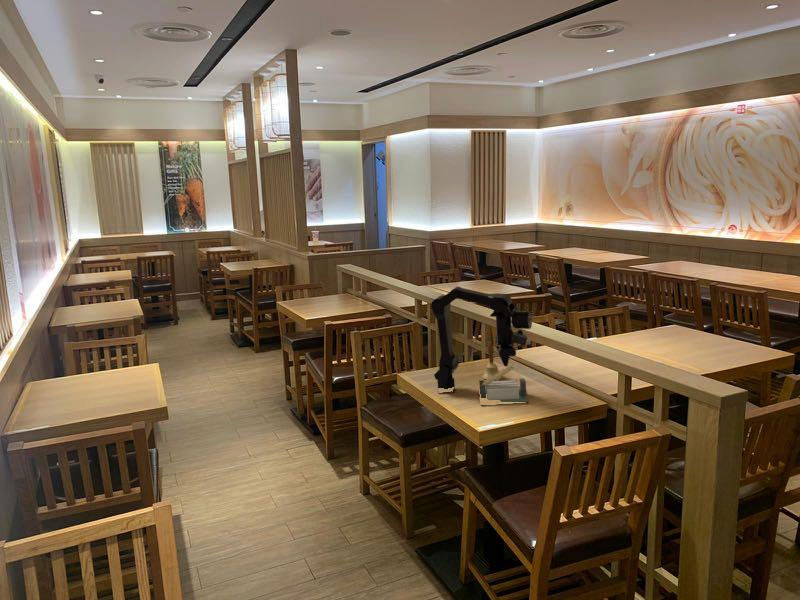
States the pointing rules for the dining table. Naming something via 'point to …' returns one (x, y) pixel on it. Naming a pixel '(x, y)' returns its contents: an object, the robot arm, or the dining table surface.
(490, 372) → the hand bell
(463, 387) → the dining table surface
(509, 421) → the dining table surface
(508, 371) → the wooden plank
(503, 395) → the heatsink board
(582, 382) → the dining table surface
